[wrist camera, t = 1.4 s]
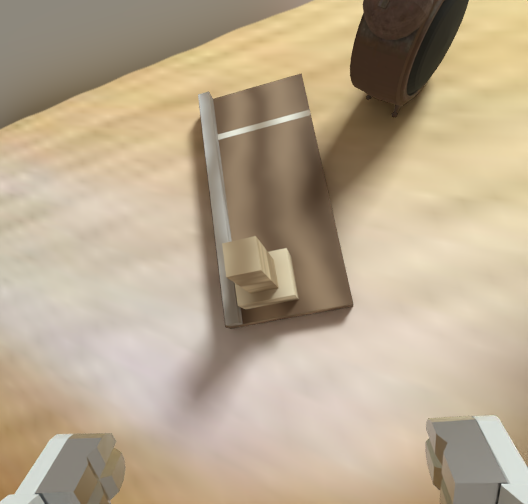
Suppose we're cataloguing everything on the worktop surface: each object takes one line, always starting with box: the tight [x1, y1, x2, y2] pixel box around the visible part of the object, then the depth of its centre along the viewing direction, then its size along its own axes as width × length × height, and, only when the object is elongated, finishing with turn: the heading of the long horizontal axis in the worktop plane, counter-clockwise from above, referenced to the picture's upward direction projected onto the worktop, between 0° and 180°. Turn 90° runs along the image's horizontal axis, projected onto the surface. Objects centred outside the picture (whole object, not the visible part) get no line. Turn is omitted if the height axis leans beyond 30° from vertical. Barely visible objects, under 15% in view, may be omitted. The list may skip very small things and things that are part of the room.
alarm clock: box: [350, 0, 469, 117], centre depth 38 cm, size 15×7×20 cm, turn 143°
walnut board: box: [198, 74, 353, 329], centre depth 46 cm, size 14×30×4 cm, turn 8°
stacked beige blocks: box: [222, 236, 299, 310], centre depth 37 cm, size 6×5×11 cm
